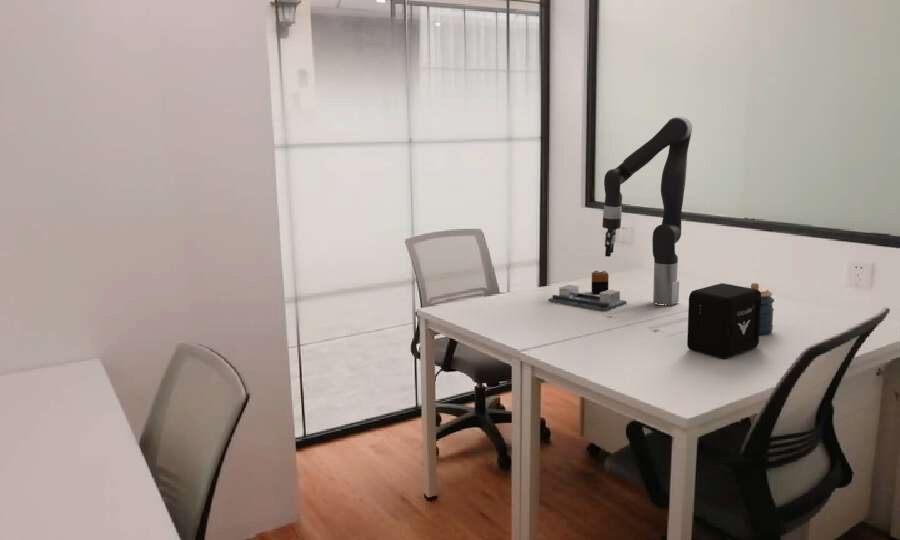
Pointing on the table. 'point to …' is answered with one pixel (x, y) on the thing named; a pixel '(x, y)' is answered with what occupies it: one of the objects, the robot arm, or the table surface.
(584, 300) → the dark grey piece
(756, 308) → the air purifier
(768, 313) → the canister
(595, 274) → the battery
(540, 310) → the table surface
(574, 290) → the block
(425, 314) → the table surface
